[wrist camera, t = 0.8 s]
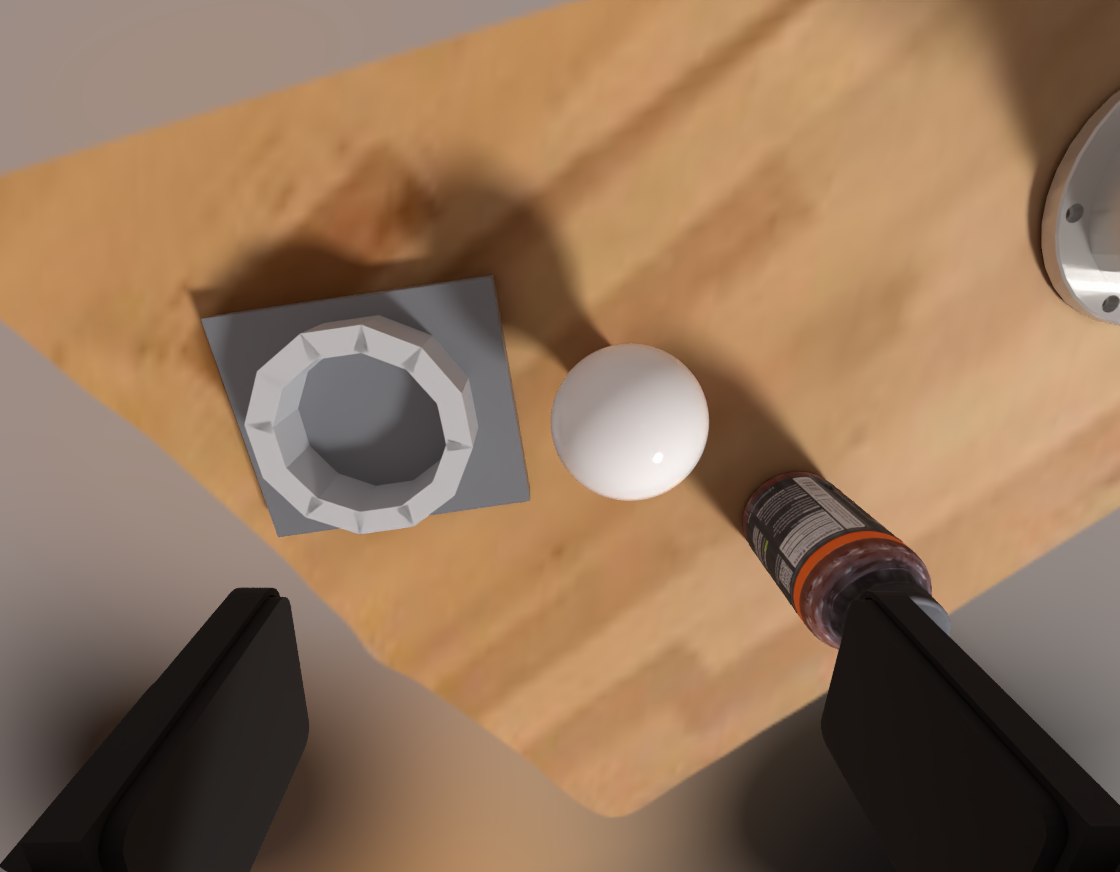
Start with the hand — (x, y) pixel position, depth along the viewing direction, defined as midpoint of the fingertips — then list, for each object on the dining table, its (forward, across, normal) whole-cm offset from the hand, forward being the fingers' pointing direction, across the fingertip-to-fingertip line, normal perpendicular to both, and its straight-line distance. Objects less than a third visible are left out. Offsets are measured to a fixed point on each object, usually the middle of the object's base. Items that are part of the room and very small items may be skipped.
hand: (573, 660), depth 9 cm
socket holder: (+22, +9, +2) cm, 24 cm away
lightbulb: (+22, -3, 0) cm, 22 cm away
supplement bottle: (+22, -15, +9) cm, 28 cm away
